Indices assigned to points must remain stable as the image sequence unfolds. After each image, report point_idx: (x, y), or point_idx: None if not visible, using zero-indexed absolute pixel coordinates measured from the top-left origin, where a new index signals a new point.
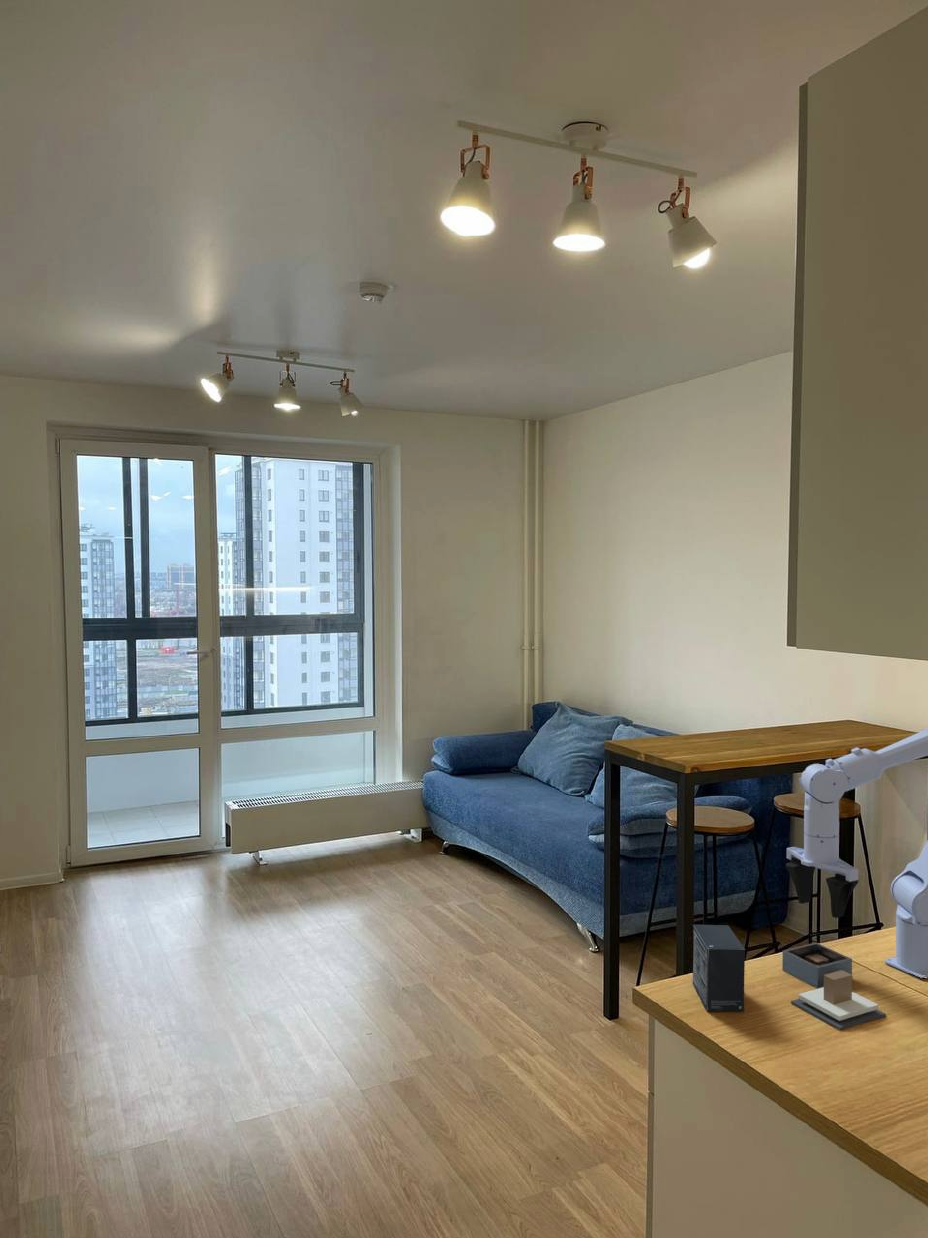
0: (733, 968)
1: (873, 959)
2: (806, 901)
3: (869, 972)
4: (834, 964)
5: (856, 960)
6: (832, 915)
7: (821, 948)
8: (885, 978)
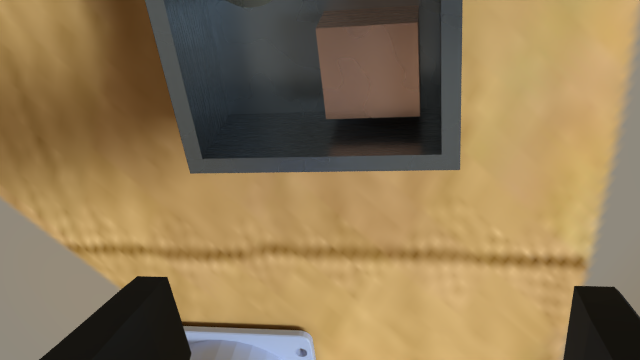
0: None
1: (356, 324)
2: (568, 346)
3: (258, 228)
4: (158, 39)
5: (377, 270)
6: (157, 282)
7: (396, 147)
8: (191, 238)
